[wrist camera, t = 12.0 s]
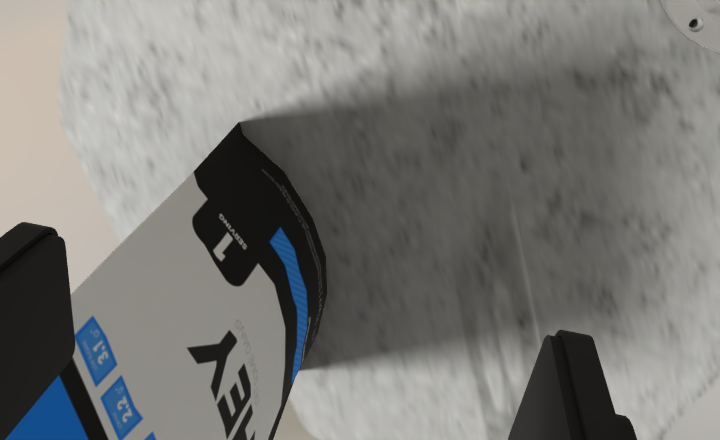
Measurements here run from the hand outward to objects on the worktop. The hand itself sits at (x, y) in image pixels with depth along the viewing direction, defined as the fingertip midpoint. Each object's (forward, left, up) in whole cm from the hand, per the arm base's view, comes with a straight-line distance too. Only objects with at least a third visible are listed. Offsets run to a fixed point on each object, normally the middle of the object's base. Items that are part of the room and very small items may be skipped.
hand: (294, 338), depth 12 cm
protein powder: (+9, +21, -34) cm, 41 cm away
